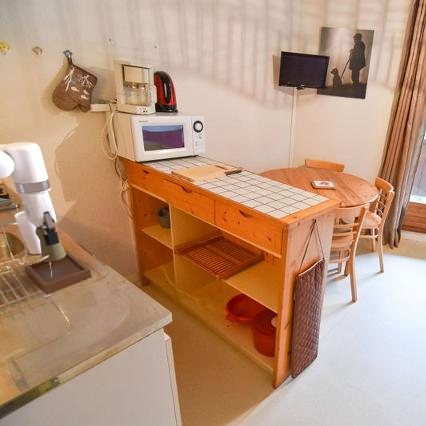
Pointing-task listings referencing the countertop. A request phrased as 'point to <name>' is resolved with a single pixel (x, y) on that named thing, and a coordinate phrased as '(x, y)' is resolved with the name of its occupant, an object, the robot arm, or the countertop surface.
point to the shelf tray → (58, 273)
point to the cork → (50, 247)
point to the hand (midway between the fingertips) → (49, 240)
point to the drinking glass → (28, 233)
